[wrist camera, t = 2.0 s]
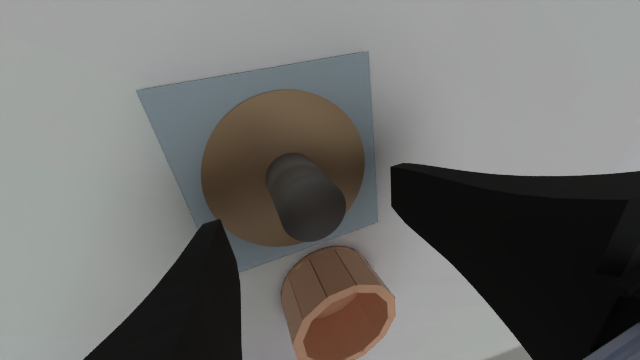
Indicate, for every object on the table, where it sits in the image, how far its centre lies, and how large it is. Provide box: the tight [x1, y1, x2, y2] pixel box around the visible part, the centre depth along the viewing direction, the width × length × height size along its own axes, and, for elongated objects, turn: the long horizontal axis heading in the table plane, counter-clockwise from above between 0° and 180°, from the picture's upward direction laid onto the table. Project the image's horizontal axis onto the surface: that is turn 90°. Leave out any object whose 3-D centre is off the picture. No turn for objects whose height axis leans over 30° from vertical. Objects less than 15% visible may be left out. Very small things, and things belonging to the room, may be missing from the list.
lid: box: [201, 90, 365, 247], centre depth 12 cm, size 9×9×5 cm
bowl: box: [281, 246, 395, 360], centre depth 18 cm, size 7×7×4 cm
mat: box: [136, 51, 378, 272], centre depth 14 cm, size 11×11×1 cm
